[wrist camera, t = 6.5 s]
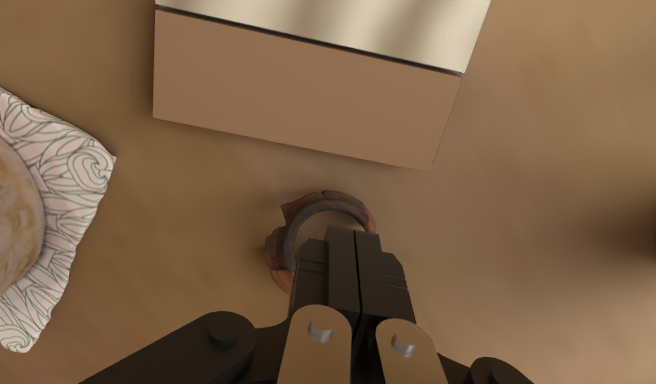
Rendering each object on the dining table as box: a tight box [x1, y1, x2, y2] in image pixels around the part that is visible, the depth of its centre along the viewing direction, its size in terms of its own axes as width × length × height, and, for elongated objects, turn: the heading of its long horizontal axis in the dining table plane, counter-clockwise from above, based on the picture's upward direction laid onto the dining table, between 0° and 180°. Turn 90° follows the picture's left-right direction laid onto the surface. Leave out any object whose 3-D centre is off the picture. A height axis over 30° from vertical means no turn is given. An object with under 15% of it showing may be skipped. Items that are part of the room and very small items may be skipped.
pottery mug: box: [264, 190, 376, 294], centre depth 35 cm, size 12×10×8 cm
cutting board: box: [153, 5, 462, 172], centre depth 28 cm, size 21×17×3 cm
